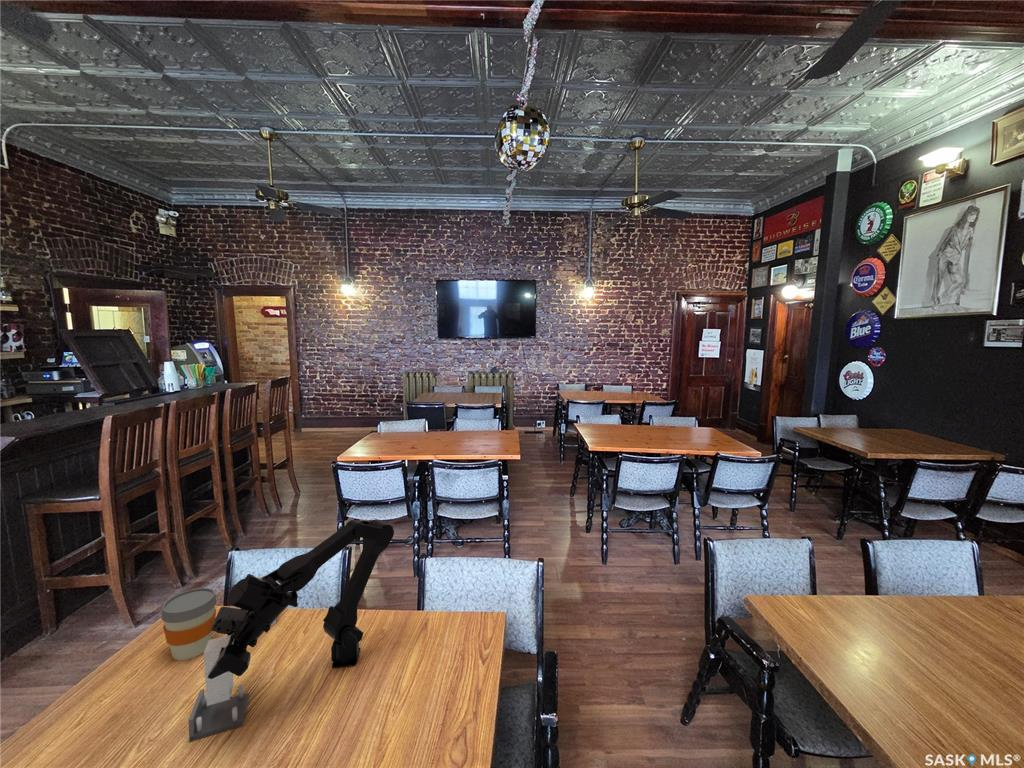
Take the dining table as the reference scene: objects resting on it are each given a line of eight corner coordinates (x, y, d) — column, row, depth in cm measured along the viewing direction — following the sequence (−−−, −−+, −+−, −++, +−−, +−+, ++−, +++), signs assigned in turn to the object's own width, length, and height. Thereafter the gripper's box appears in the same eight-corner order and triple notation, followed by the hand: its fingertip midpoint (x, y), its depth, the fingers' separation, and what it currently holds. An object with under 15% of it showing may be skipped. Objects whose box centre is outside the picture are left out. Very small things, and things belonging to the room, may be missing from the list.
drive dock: (249, 696, 104) (248, 677, 104) (242, 725, 96) (241, 705, 95) (201, 709, 100) (200, 690, 100) (189, 741, 92) (188, 720, 91)
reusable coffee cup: (224, 630, 128) (221, 584, 127) (210, 658, 116) (208, 607, 115) (174, 639, 124) (171, 592, 123) (155, 670, 112) (152, 617, 111)
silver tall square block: (233, 685, 100) (230, 634, 99) (229, 699, 96) (226, 647, 95) (211, 691, 99) (208, 640, 98) (206, 705, 95) (203, 652, 94)
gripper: (243, 576, 106) (192, 629, 102) (226, 620, 89) (165, 685, 85) (279, 598, 110) (232, 650, 106) (270, 645, 93) (213, 707, 89)
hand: (212, 670), depth 96 cm, fingers closed on silver tall square block, 4 cm apart
